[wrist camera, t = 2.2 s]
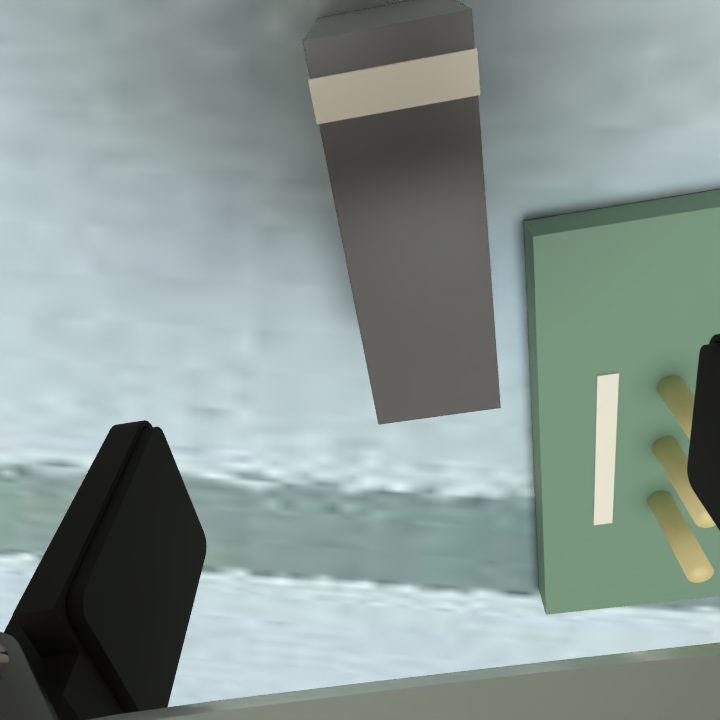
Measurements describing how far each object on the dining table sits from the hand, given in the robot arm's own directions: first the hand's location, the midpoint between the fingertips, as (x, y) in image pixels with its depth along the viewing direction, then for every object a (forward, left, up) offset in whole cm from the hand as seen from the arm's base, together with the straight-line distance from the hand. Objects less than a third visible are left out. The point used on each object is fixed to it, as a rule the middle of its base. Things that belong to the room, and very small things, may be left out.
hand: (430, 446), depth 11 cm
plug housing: (-1, 0, -13) cm, 13 cm away
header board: (+11, +9, -13) cm, 20 cm away
